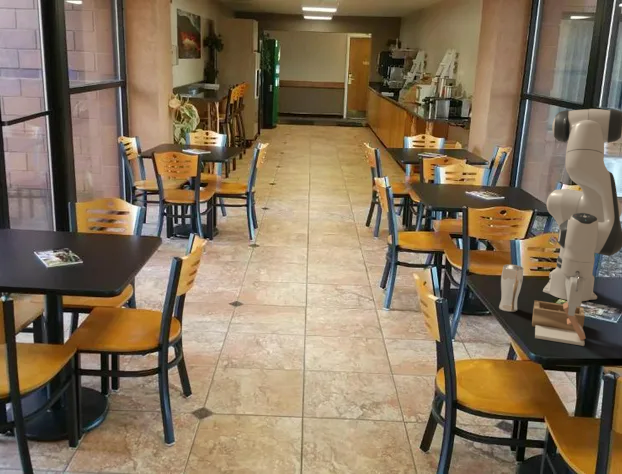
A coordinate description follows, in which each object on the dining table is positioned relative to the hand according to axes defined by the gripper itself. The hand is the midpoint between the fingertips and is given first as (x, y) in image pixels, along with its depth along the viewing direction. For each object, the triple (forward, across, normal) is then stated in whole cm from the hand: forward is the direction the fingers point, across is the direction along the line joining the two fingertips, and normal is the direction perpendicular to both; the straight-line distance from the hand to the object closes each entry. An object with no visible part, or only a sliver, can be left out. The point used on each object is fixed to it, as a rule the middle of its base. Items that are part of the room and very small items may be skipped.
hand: (570, 311), depth 199 cm
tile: (+3, 0, -1) cm, 3 cm away
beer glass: (+9, +20, +18) cm, 28 cm away
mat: (+9, 0, +2) cm, 9 cm away
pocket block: (+9, +10, +3) cm, 14 cm away
